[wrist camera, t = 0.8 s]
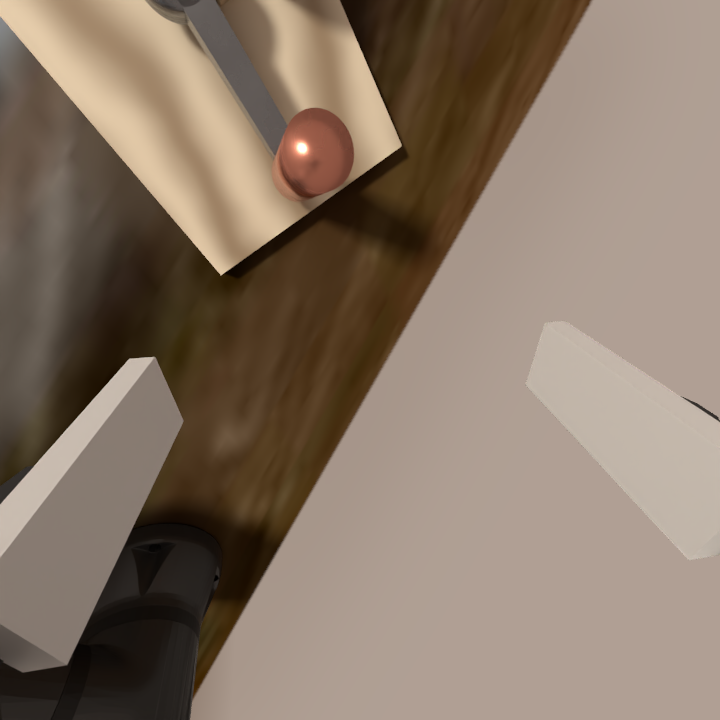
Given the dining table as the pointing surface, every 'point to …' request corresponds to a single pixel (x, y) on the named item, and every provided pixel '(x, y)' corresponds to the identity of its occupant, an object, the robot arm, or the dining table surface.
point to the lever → (269, 108)
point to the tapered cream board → (207, 103)
